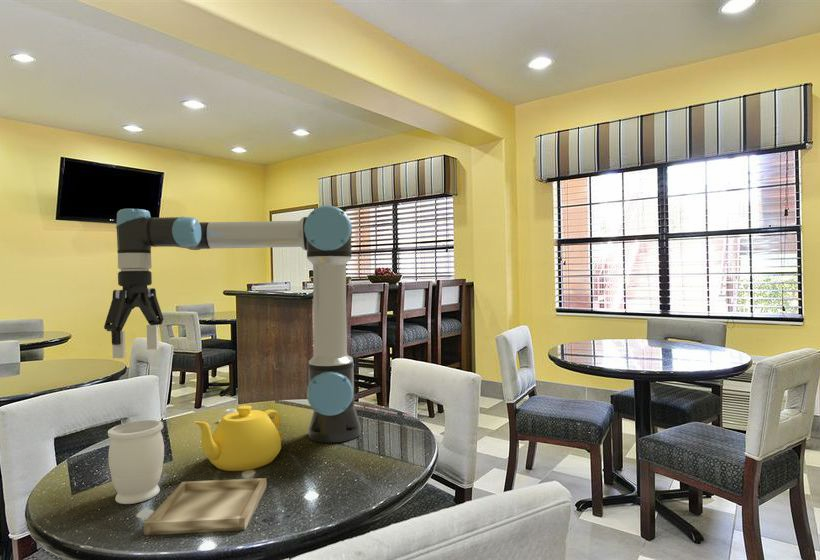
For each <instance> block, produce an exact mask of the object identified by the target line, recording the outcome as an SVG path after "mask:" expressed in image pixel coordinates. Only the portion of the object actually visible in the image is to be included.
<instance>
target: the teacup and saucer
mask: <svg viewBox="0 0 820 560" xmlns="http://www.w3.org/2000/svg"><path fill="white" fill-rule="evenodd" d="M233 412H237V408H236V407H234V408H227V409H226V410H223V413H222V417H224V416H225V415H227V414H229V413H233ZM225 413H226V414H225ZM224 414H225V415H224ZM220 421H221V419H219V421H218V423H219V422H220Z"/></svg>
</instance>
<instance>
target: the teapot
mask: <svg viewBox="0 0 820 560" xmlns="http://www.w3.org/2000/svg"><path fill="white" fill-rule="evenodd" d="M271 414H272V415H273V417H274V420H273V421H272V419H271V418H270V416H269V415H271ZM220 420H221V421H220ZM220 420H219V421H220V422H219V421H218V424H217V426H216V428H214V431H213V433H212V431H211V427H210V425H209V423H208V422H206V421H199V420H195V421H193V423H194V424H196V425H197V426H198V427H199V428H200V429H199V430H200V433H201V436H200V437H201V438H200V439H201V441H200V443H201V450H202V452H203V453H204V455H205V456H206V457H207V459H208V460H209V462H210V463H211V464H212V465H213V466H215V467H216V468H217V469H219V470H222V471H227V472H242V471H249V470H250V471H251V470H255V469H258V468H261V467H264V466H266V465H268V464H270V463H272V462H273V461H274V460H275V459H276V457H277V456H278V455H279V453H280V451H281V449H282V440H283V439H284V434H283V432H282V431H280V430H279V429H280V425H281V415H280V412H278V411H277V410H275V409H267V410H264V411H263V410H259V409H252V406H251V405H245V404H244V405H240V406H238V407H237V408H236V412H233V413H229V414H225V415H224V416H222V417H221V419H220Z"/></svg>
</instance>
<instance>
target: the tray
mask: <svg viewBox="0 0 820 560" xmlns="http://www.w3.org/2000/svg"><path fill="white" fill-rule="evenodd" d="M267 479H268V478H267V477H264V478H263V477H260V478H258V477H257V478H239V479H238V478H237V479H216V480H215V479H213V480H195V481H194V480H193V481H182V482H181V483H180V484H179V485H178V486H177V487H176V488H175V489H174V490H173V492H172V493H171V494H170V495H169V496H168V497H167V498H166V499H165V500H164V501H163V502H162V503H161V504H160V505H159V506H158V508H157V509H156V510H154V511H153V513H152V514H151V515H150V516H149V517H148V518H147V519H146V520H145V521H144V523H143V535H144V536H157V535H174V534H175V535H177V534H195V533H199V534H200V533H212V532H213V533H214V532H216V533H217V532H234V531H246V529H247V527H248V524H249V523H250V521H251V520H252V517H253V515H254V514H255V511H256V510H257V508H258V505H259V504H260V502H261V500H262V498H263V496H264V494H265V492H266V490H267V488H268V487H267V486H268V484H267V483H268V482H267Z"/></svg>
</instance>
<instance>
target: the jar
mask: <svg viewBox="0 0 820 560" xmlns="http://www.w3.org/2000/svg"><path fill="white" fill-rule="evenodd" d="M163 428H164V422H163V421H161V420H156V419H145V420H144V419H143V420H136V421H131V422H125V423H122V424H118V425H115V426H114V427H111V428H110V429H108V431H107V436H108V437H109V438H110V442H109V447H108V455H107V456H108V458H107V459H108V466H109V467H108V468H109V471H110V474H111V481H112V485H113V487H114V490H115V491H116V492H117V494H116V496H115V498H114V500H115V502H116V503H117V504H120V505H131V504H137V503H138V504H139V503H142V502H145V501H148V500H150V499H153V498H154V497H156V496H157V495H158V494H159V493H160V491H161V488H160V486H159V485H158V484H159V481H160V479H161V476H162V472H163V464H164V458H165V443H164V437H163V433H162V430H163Z"/></svg>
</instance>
